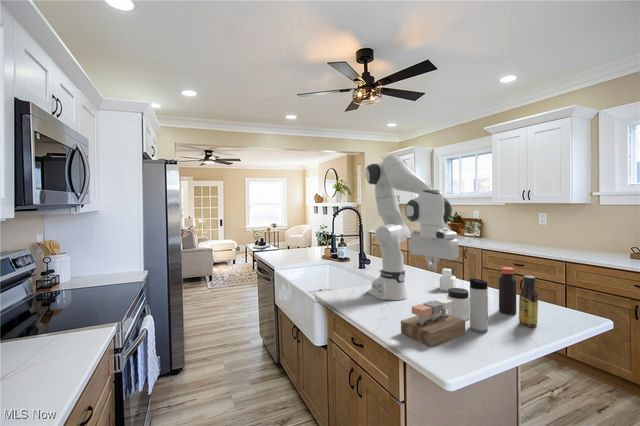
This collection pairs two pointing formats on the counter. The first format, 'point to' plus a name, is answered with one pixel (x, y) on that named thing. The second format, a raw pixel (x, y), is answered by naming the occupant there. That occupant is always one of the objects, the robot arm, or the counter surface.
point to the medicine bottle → (447, 279)
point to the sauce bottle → (528, 303)
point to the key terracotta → (421, 312)
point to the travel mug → (478, 305)
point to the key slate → (434, 308)
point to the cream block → (444, 305)
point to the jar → (459, 303)
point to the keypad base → (433, 329)
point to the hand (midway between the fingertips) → (432, 268)
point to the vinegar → (507, 291)
